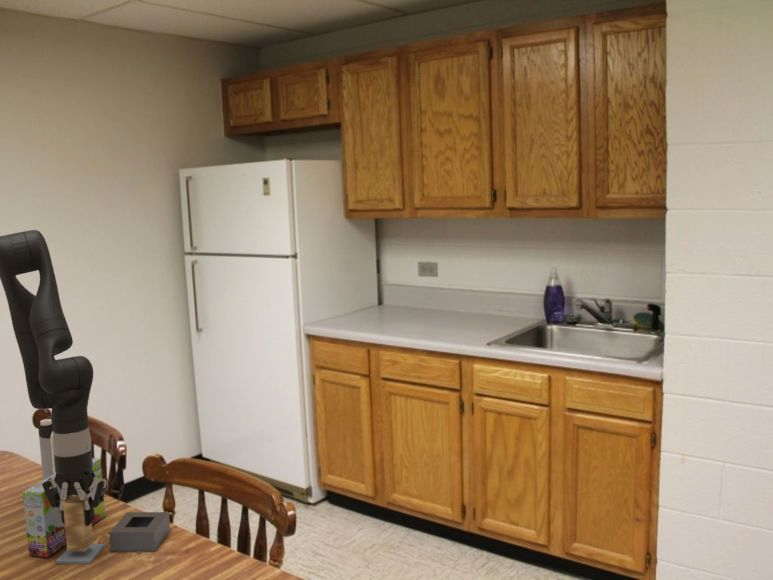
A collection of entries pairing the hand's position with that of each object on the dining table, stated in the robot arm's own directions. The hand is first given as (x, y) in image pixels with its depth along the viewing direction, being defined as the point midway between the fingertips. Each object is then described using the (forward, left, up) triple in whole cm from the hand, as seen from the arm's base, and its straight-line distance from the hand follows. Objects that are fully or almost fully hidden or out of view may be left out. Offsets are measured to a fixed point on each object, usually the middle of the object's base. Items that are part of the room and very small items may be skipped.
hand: (78, 524), depth 156 cm
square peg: (0, 0, -5) cm, 5 cm away
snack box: (-9, -7, -7) cm, 14 cm away
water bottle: (-21, -13, -7) cm, 26 cm away
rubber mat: (0, 0, -7) cm, 7 cm away
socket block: (-7, +11, -7) cm, 15 cm away
